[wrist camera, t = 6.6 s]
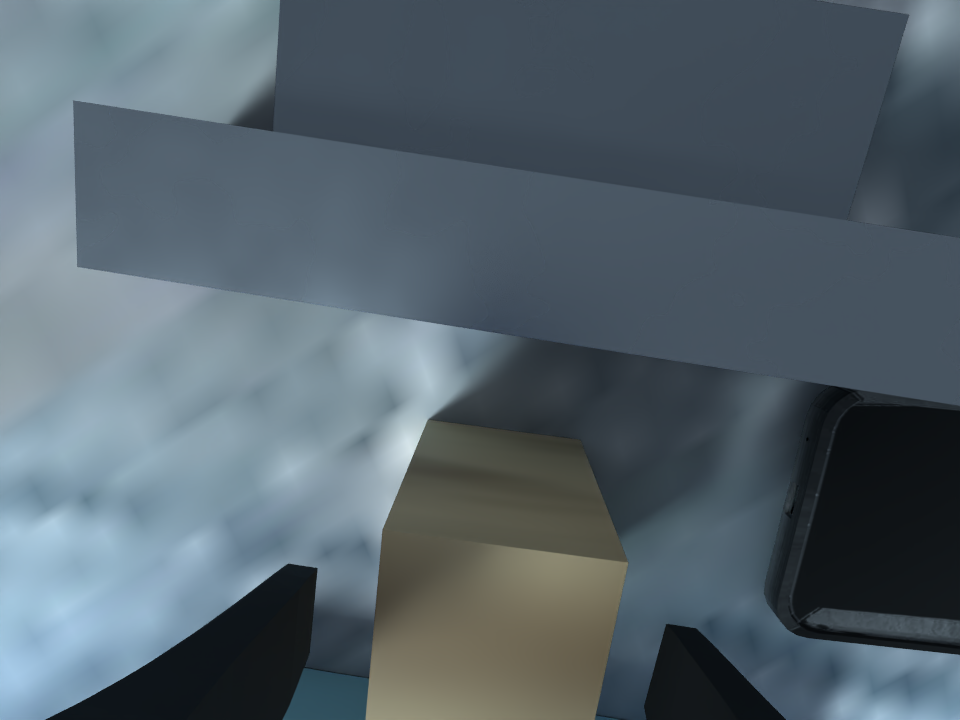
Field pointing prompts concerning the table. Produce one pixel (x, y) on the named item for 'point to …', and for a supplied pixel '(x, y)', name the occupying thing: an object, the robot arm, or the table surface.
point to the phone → (872, 524)
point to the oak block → (494, 581)
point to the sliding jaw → (333, 697)
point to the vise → (554, 184)
